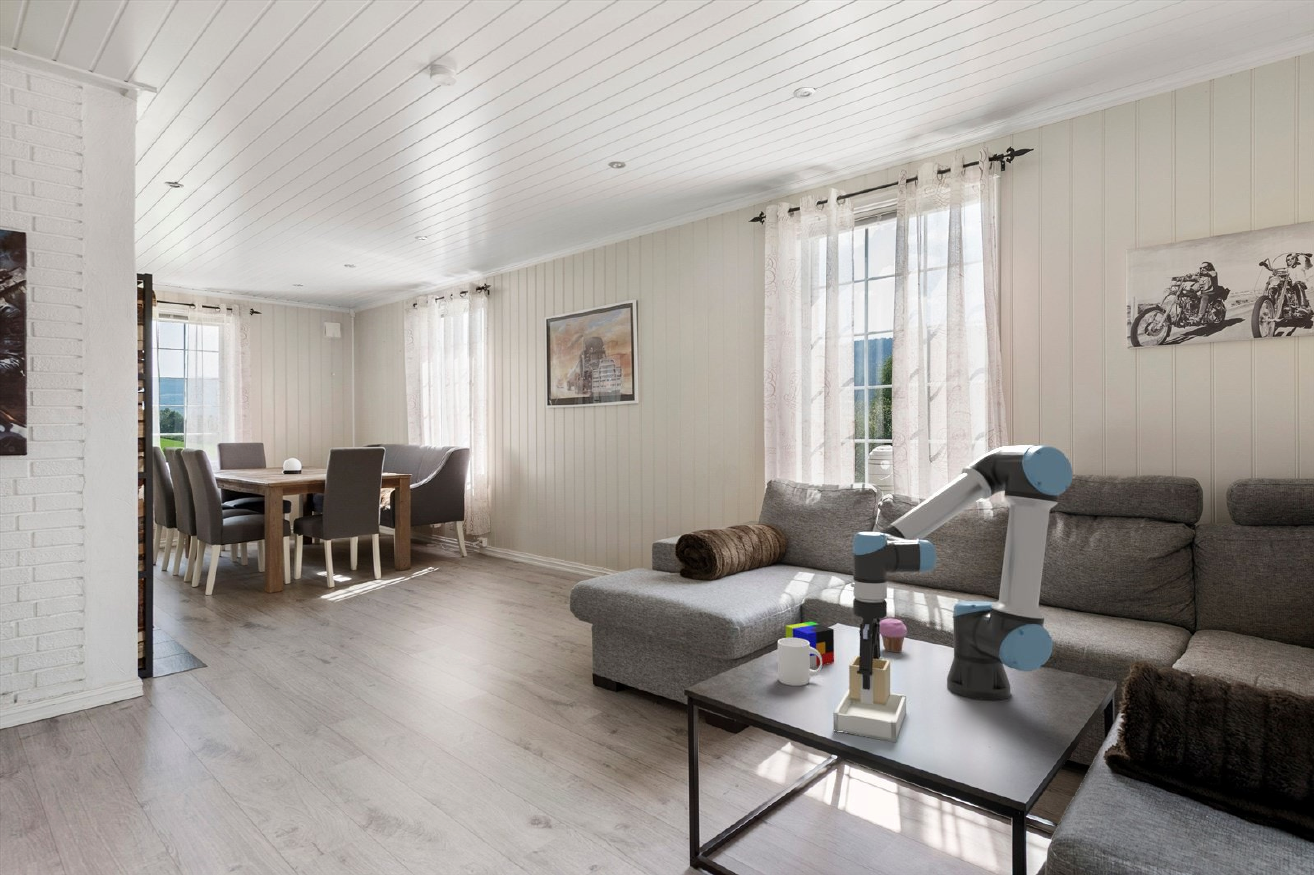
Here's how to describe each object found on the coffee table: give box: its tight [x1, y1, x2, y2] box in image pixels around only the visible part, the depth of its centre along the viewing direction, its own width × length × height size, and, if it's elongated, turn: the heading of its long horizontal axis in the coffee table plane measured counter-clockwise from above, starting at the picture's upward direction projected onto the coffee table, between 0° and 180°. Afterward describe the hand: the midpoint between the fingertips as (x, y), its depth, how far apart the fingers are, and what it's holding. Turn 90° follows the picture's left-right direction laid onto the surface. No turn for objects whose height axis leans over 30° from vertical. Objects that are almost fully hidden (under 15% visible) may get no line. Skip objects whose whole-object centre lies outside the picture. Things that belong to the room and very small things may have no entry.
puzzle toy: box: [785, 621, 835, 668], centre depth 206 cm, size 10×10×10 cm
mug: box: [777, 637, 823, 687], centre depth 189 cm, size 9×12×11 cm
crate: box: [833, 688, 907, 743], centre depth 161 cm, size 13×19×4 cm
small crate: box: [848, 655, 891, 706], centre depth 161 cm, size 8×8×8 cm
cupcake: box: [880, 618, 908, 653], centre depth 216 cm, size 9×9×10 cm
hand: (870, 696), depth 161 cm, fingers closed on small crate, 8 cm apart
